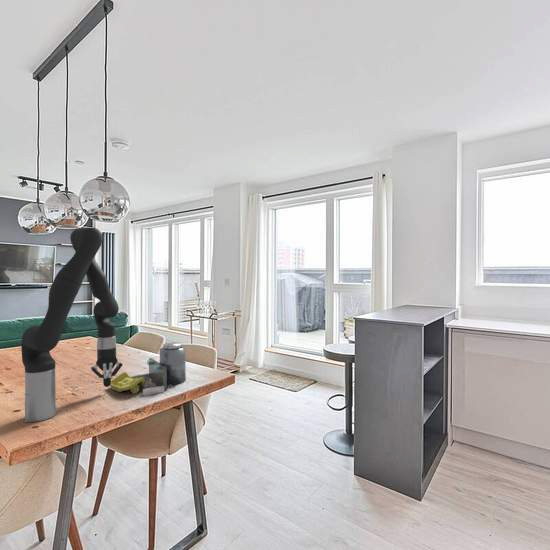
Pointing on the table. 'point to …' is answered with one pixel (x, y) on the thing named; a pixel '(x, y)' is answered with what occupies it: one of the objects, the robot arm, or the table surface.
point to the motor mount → (166, 368)
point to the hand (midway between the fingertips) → (107, 386)
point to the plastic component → (127, 383)
